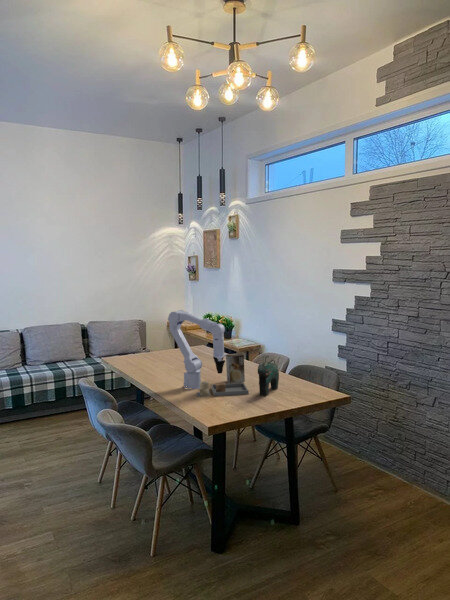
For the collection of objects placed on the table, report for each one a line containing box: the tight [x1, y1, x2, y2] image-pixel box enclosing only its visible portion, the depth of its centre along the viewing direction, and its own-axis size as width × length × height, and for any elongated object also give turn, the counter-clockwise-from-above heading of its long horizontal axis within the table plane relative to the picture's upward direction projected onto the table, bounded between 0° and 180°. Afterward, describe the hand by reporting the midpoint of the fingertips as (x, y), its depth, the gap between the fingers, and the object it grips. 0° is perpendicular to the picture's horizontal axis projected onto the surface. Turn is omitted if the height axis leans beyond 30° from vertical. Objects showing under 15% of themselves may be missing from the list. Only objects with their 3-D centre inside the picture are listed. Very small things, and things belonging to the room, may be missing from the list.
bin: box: [211, 382, 250, 397], centre depth 235 cm, size 18×15×2 cm
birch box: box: [199, 380, 210, 397], centre depth 230 cm, size 4×4×6 cm
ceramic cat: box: [257, 355, 280, 397], centre depth 231 cm, size 20×6×20 cm, turn 151°
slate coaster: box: [196, 391, 212, 398], centre depth 230 cm, size 7×7×1 cm
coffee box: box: [225, 352, 246, 384], centre depth 254 cm, size 9×6×16 cm
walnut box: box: [215, 382, 226, 392], centre depth 231 cm, size 4×4×5 cm
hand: (219, 371), depth 238 cm, fingers open, 7 cm apart
